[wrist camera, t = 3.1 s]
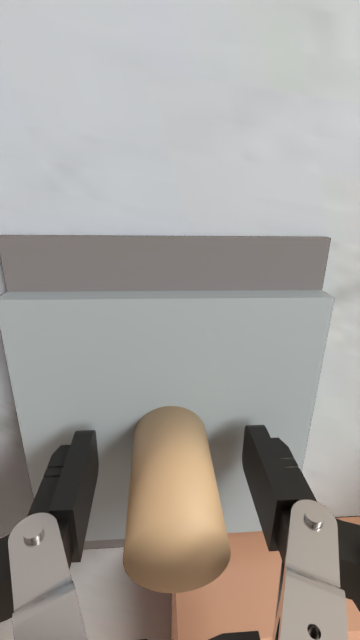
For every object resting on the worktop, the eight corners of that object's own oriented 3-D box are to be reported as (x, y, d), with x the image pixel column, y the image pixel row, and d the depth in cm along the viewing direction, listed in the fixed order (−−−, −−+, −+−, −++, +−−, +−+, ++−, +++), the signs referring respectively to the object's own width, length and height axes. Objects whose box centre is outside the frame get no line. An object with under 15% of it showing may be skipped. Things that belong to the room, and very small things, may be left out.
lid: (6, 291, 12) (-117, 375, 7) (322, 290, 13) (445, 363, 8) (48, 523, 17) (-6, 691, 11) (283, 511, 17) (343, 662, 12)
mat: (1, 234, 12) (-4, 236, 12) (326, 236, 13) (330, 238, 12) (55, 543, 18) (53, 551, 17) (276, 531, 19) (278, 538, 18)
